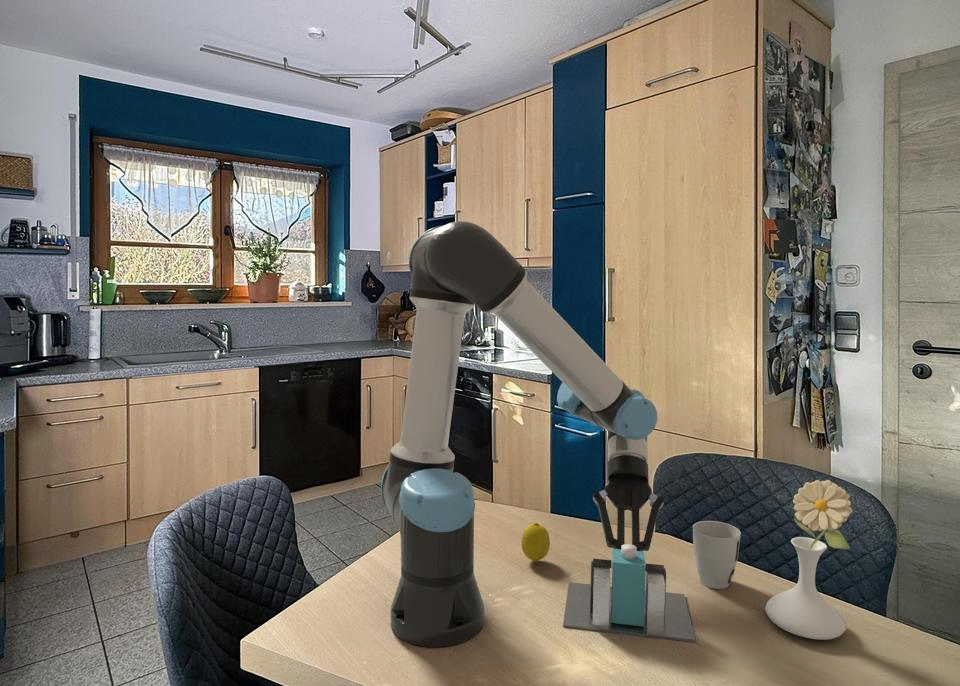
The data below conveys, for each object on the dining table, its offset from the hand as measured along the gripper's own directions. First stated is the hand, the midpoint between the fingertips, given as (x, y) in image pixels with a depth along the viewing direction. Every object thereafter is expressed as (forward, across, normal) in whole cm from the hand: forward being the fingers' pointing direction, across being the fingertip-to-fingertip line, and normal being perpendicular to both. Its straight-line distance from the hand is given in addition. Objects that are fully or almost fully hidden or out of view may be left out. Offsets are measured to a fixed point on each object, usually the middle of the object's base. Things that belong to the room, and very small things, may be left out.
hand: (628, 589), depth 102 cm
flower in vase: (+3, -28, -2) cm, 28 cm away
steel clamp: (+3, 0, -2) cm, 4 cm away
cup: (-6, -16, -12) cm, 21 cm away
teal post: (+6, 0, 0) cm, 6 cm away
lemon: (-7, +17, -12) cm, 22 cm away
